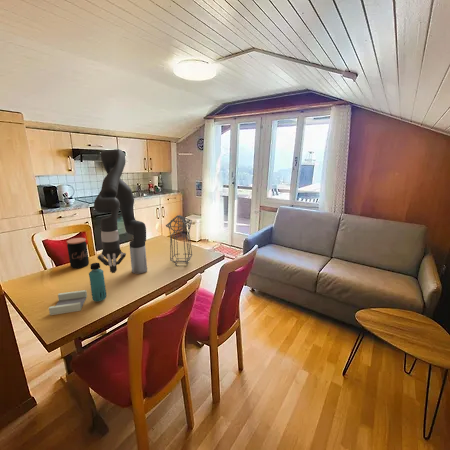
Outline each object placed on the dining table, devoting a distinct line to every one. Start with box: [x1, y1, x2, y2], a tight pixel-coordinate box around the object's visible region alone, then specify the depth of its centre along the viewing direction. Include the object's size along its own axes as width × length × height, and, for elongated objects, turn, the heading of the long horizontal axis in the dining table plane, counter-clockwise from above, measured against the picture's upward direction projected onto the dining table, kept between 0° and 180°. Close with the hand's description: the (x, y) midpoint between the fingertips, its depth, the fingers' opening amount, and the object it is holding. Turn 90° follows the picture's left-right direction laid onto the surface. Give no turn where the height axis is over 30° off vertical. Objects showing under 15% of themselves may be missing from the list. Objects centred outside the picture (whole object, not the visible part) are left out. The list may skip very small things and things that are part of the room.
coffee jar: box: [66, 237, 90, 269], centre depth 151 cm, size 11×11×18 cm
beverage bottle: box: [88, 262, 107, 302], centre depth 112 cm, size 6×7×20 cm
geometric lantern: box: [165, 214, 193, 267], centre depth 156 cm, size 16×16×35 cm
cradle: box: [48, 289, 88, 316], centre depth 110 cm, size 12×13×4 cm
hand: (113, 272), depth 113 cm, fingers closed
